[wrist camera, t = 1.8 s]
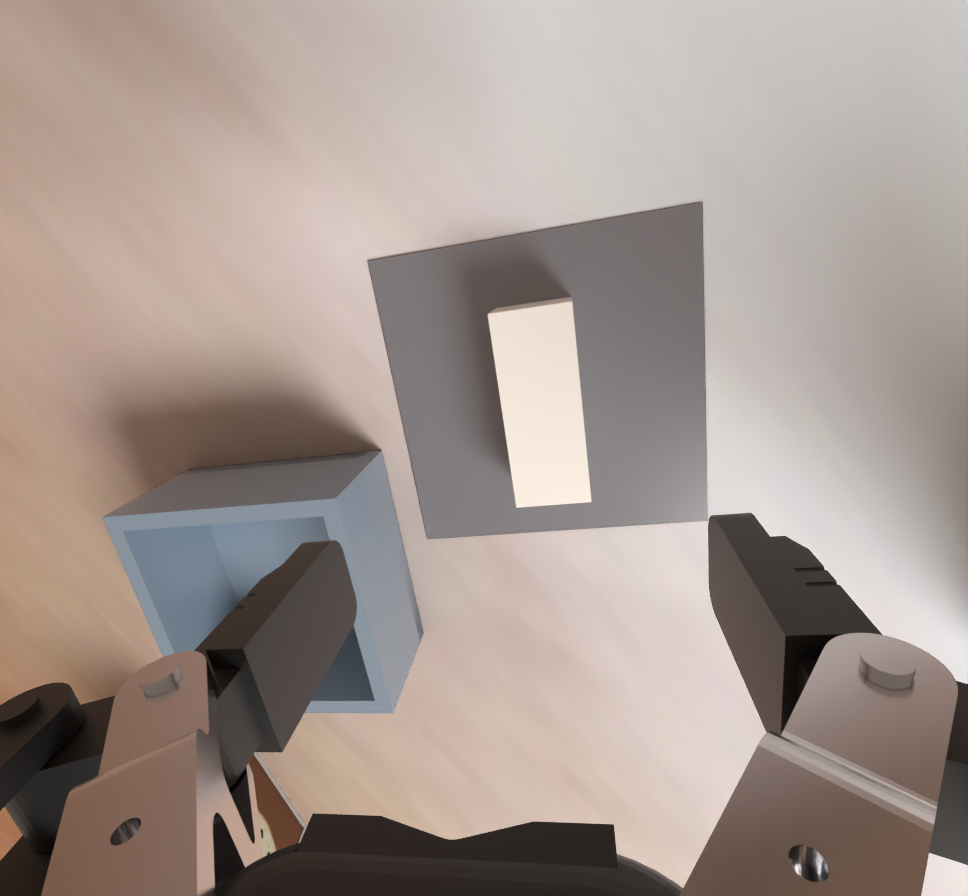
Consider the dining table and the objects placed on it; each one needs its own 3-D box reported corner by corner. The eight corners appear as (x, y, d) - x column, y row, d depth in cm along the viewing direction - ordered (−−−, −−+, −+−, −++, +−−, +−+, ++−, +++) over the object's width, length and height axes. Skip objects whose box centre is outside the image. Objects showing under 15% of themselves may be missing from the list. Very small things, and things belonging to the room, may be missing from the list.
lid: (697, 204, 22) (723, 193, 19) (703, 513, 27) (725, 551, 23) (373, 261, 25) (342, 261, 21) (431, 532, 30) (413, 568, 26)
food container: (171, 735, 38) (45, 887, 29) (237, 721, 37) (126, 877, 27) (253, 847, 42) (163, 1016, 32) (316, 839, 40) (240, 1014, 31)
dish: (381, 450, 28) (335, 498, 22) (423, 633, 31) (393, 713, 26) (188, 469, 30) (102, 517, 24) (249, 637, 34) (186, 712, 28)
